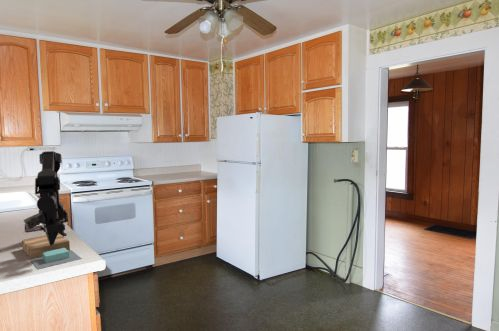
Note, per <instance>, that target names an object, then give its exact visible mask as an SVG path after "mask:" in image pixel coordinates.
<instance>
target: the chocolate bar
mask: <svg viewBox="0 0 499 331" xmlns="http://www.w3.org/2000/svg"><path fill="white" fill-rule="evenodd" d="M40 227H42V224H40V225H37V226H35V227H34V228H32V229H29V228H27V226H26V225H25V233H31V232H32V233H33V232H39V231H43V230H42V229H40Z"/></svg>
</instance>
